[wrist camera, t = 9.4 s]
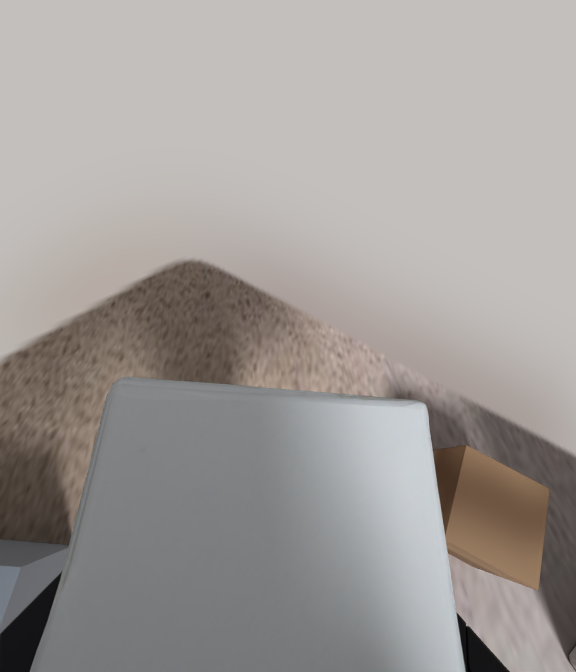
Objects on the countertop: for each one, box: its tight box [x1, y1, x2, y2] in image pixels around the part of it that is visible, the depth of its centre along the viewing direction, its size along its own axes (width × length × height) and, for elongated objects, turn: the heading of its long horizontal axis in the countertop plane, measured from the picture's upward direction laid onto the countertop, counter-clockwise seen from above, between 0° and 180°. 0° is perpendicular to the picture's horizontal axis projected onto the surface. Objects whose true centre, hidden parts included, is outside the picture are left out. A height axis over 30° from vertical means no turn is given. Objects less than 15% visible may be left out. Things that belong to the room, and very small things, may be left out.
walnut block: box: [433, 445, 550, 590], centre depth 20 cm, size 5×5×5 cm
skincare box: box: [30, 377, 466, 672], centre depth 8 cm, size 6×4×12 cm
